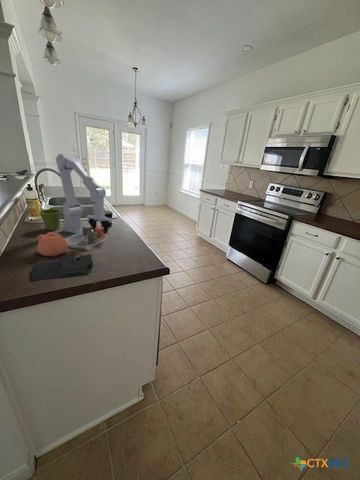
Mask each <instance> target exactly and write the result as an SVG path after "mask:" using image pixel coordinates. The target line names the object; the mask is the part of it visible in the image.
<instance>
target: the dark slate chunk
mask: <svg viewBox="0 0 360 480" xmlns="http://www.w3.org/2000/svg"><path fill="white" fill-rule="evenodd" d="M93 261H94V260H93V256H92V254H89V253H88V254H84V255H83V254H82V255H81V254H80V256H78V257H76V256H75V255H71V256H67V255H65V256H62V257H61V258H60V259H59V258H58V259H53V260H41V261H37V262H36V263H35V264H34V265H33V267H32V270H31V274H30V280H31V282H40V281H41V282H42V281H48V280H49V281H50V280H58V279H64V278H65V279H66V278H73V277H81V276H88V275H89V274H90V273H93V271H92V270H93V267H94V262H93Z"/></svg>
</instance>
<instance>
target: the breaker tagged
mask: <svg viewBox="0 0 360 480" xmlns="http://www.w3.org/2000/svg"><path fill="white" fill-rule="evenodd" d="M95 239H97V232H90V233H88V240H92V241H93V240H95Z"/></svg>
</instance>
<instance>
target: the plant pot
mask: <svg viewBox="0 0 360 480" xmlns="http://www.w3.org/2000/svg"><path fill="white" fill-rule="evenodd" d="M61 212H62V210H61V209H56V208H48V209H47V208H46V209H41V210H38V212H37V213H38V214H39V216H40V217H41V220H42V222H43V224H44V228H45V230H47V231H56V230H59V229H60V219H61Z"/></svg>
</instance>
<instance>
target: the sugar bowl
mask: <svg viewBox="0 0 360 480" xmlns="http://www.w3.org/2000/svg"><path fill="white" fill-rule="evenodd" d="M37 240H38V241H37V242H38V243H37V252H38V253H39V254H40V255H42V256H45V257H57V256H59V255H62V254H64V253H65V252H67V250H68V249H69V247H68V244H67V242H66V240H65V237H64V236H63V235H61V234H60V233H55V232H54V231H50V232H47V233H46V234H39V235H37Z"/></svg>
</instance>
